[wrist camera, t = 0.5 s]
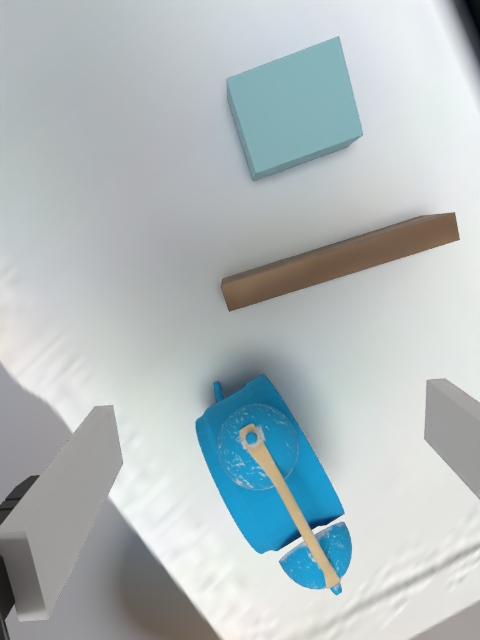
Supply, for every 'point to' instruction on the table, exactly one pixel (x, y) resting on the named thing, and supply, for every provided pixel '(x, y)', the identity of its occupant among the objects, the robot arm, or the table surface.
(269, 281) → the board
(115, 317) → the table surface
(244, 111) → the block
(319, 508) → the alarm clock
